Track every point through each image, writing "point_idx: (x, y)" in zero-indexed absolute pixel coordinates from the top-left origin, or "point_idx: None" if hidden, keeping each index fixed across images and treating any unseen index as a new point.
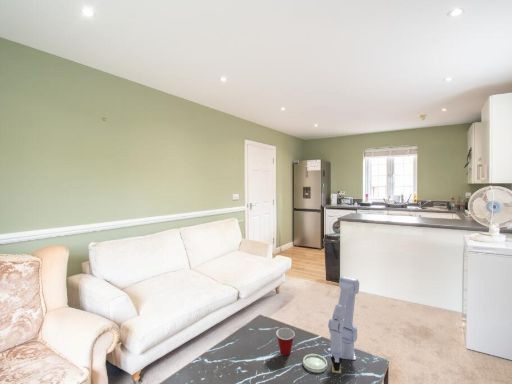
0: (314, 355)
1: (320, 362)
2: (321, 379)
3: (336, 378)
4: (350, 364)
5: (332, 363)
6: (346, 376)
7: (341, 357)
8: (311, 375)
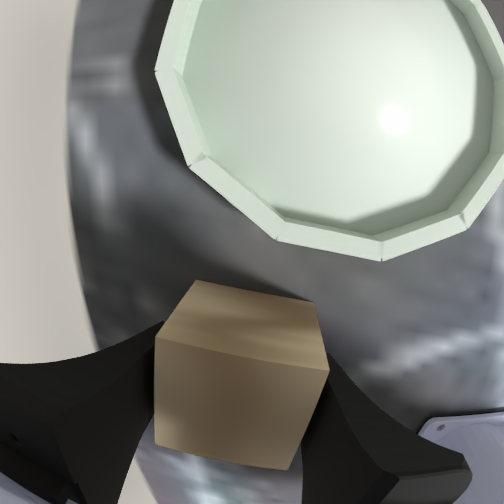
0: (501, 104)
1: (378, 149)
2: (66, 122)
3: (96, 299)
4: None
5: (166, 347)
6: None
7: (430, 427)
8: (129, 11)
